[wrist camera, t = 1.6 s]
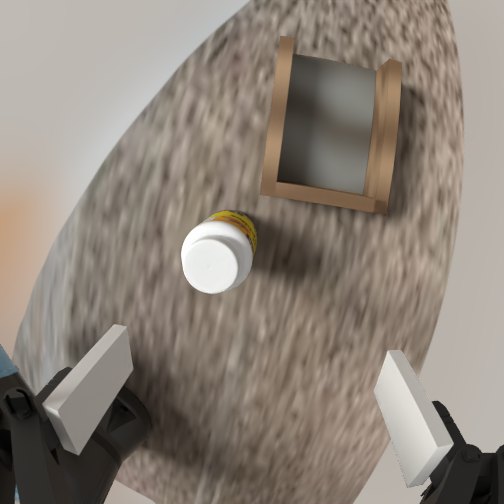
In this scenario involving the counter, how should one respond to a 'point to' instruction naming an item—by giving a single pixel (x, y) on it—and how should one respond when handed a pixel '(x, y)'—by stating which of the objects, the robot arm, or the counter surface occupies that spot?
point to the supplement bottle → (219, 252)
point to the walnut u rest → (332, 131)
